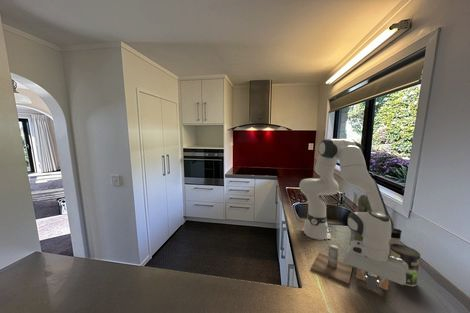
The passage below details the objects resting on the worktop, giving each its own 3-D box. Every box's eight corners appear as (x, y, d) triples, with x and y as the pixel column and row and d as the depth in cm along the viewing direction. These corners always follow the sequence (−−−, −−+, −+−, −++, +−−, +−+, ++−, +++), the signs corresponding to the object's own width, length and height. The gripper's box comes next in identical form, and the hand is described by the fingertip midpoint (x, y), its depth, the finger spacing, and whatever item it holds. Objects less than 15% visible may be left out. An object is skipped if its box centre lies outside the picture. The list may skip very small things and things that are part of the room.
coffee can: (420, 282, 85) (424, 252, 84) (411, 289, 80) (414, 258, 79) (393, 268, 94) (396, 241, 93) (383, 274, 89) (386, 246, 88)
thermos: (349, 259, 101) (355, 196, 98) (354, 250, 109) (359, 192, 107) (369, 267, 95) (375, 200, 92) (373, 257, 103) (379, 196, 100)
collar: (358, 265, 92) (359, 255, 91) (386, 275, 85) (388, 265, 85) (355, 282, 80) (356, 271, 79) (388, 296, 73) (389, 284, 73)
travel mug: (401, 272, 92) (405, 232, 90) (386, 269, 93) (389, 231, 92) (393, 264, 98) (396, 227, 96) (379, 262, 99) (382, 225, 98)
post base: (318, 255, 103) (320, 235, 102) (352, 268, 93) (354, 246, 93) (310, 270, 91) (312, 247, 90) (348, 286, 81) (350, 261, 80)
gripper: (408, 257, 73) (403, 290, 74) (347, 239, 85) (345, 267, 87) (410, 266, 68) (405, 300, 69) (345, 245, 80) (343, 275, 82)
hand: (371, 282), depth 78 cm, fingers closed on collar, 3 cm apart
